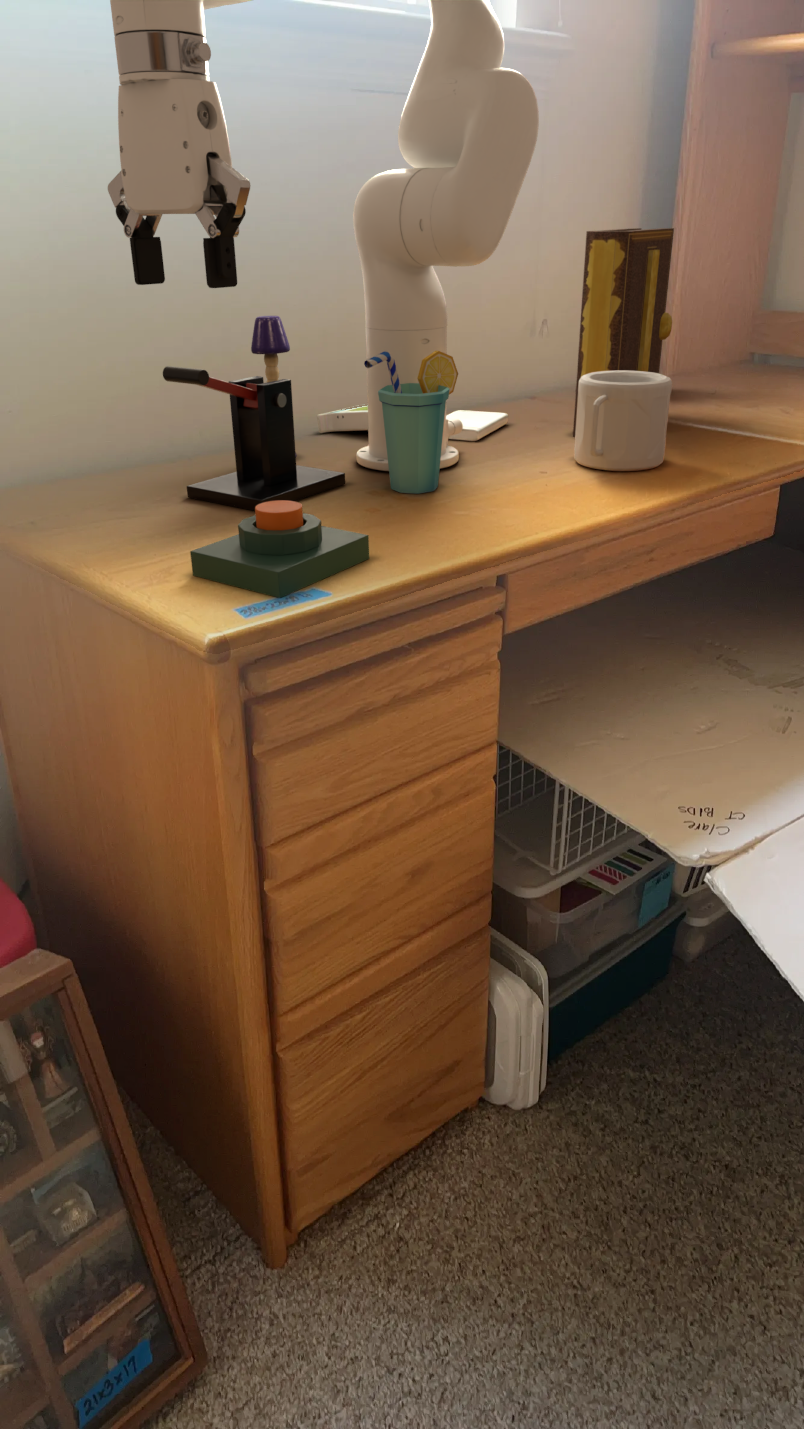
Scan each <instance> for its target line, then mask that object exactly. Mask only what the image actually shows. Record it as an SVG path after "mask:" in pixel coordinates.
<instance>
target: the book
mask: <svg viewBox="0 0 804 1429" xmlns="http://www.w3.org/2000/svg"><path fill="white" fill-rule="evenodd" d="M674 232H675V228H674V227H660V228H647V229H642V228H641V227H638V228H637V227H636V228H633V227H631V228H630V227H629V228H628V227H627V228H613V229H599V230H586V233H585V244H584V245H585V246H584V261H583V274H582V275H583V277H582V291H581V292H582V293H581V304H580V305H581V306H580V320H579V335H578V336H579V337H578V350H577V352H578V353H577V366H576V380H575V381H576V382H575V396H574V409H573V410H574V412H573V426H572V428H573V429H572V436H573V437H575V432H576V417H577V402H578V385H579V380H580V378H581V377H582V376H583V375H586V374H589V373H593V372H599V371H615V370H628V371H645V372H653V373H659V374H660V369H661V368H660V367H661V359H662V358H661V357H662V349H663V348H662V347H663V341H665V340H666V339H667V338H669V337H670V335H671V333H672V328H673V318H672V315H671V314H670V313H669V312H666V311H667V310H666V309H667V300H668V292H669V290H668V289H669V281H670V273H671V272H670V271H671V261H672V252H673V241H674Z"/></svg>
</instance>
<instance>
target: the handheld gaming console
mask: <svg viewBox="0 0 804 1429" xmlns="http://www.w3.org/2000/svg"><path fill="white" fill-rule="evenodd" d="M345 409H346V408H342V410H341V409H336V410H333V411H329V412H324V413H320V414H317V415H316V419H317V420H316V421H317V427H318V428H317V429H318V432H319V434H325V433H330V432H331V433H332V432H353V431H355V432H357V431H368V405H367V406H362V407H357V408H352V409H346V410H345Z"/></svg>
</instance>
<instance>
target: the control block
mask: <svg viewBox="0 0 804 1429" xmlns="http://www.w3.org/2000/svg"><path fill="white" fill-rule="evenodd" d="M237 531H238V534H234V535H232V536H229V537H227V538H224V539H221V540H218V541H215V542H211V543H209V544H206V545H204V546H201V547H198V548H195V549H192V550H190V552H189V553H190V562H191V570H192V576H193V577H197V578H200V579H201V578H202V579H204V580H205V579H206V580H209V581H213V582H216V583H219V584H223V585H229V586H233V587H236V588H240V589H244V590H248V591H251V592H256V593H259V594H263V595H267V596H271V597H275V598H279V599H281V598H283V597H286V596H288V595H291V594H292V593H295V592H297V591H300V590H302V589H304V588H306V587H308V586H311V585H312V584H315V583H317V582H319V581H322V580H324V579H326V578H328V577H331V576H333V575H336V574H337V573H340V572H342V571H345V570H347V569H349V568H351V567H354V566H356V565H359V564H361V563H363V562H365V561H367V560H370V537H369V534H365V533H362V532H361V533H360V532H356V531H351V530H350V531H349V530H345V529H340V528H335V527H330V526H325V525H322V520H321V519H320V518H319V517H317V516H316V515H314V514H310V513H305V512H303V526H301V527H298V528H295V529H288V530H264V529H259V528H257V526H256V514H254V515H252V516H249V517H246V518H242V519H241V521H240V522H239V523H238V524H237Z"/></svg>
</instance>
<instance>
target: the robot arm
mask: <svg viewBox="0 0 804 1429" xmlns="http://www.w3.org/2000/svg"><path fill="white" fill-rule="evenodd" d="M252 1H253V0H109V2H110V11H111V12H110V13H111V19H112V27H113V28H112V29H113V35H114V37H113V38H114V45H115V53H116V54H115V55H116V64H117V70H118V80H119V85H118V94H117V122H118V124H117V125H118V148H119V159H120V171H119V172H118V173H117V175H115V176H114V177H113V179H112V180H110V182H109V183H108V184H107V193H108V194H109V197H110V199H111V201H112V205H113V206H114V208H115V215H116V217H117V219H118V220H119V221H120V223H121V224H122V226H123V234H124V236H126V238H129V246H130V253H131V261H132V269H133V277H134V282H135V284H136V285H137V286H147V285H159V284H160V285H161V284H164V283H165V281H166V276H165V275H166V274H165V266H164V257H163V249H162V240H161V237H160V236H155V234H156V232H157V229H158V227H159V225H160V221H161V219H162V216H163V215H195V216H196V217H197V220H198V221H199V222H200V224H201V225H202V227H203V229H204V230H205V232H206V234H207V235H208V236H209V237H203V238H202V239H203V240H202V241H203V243H202V245H203V246H202V247H203V255H204V256H203V257H204V265H205V266H204V267H205V268H204V269H205V279H206V285H207V287H208V288H209V289H222V288H235V287H237V285H238V273H237V272H238V271H237V262H236V260H237V259H236V248H235V238H238V236H239V235H240V225H241V223H242V222H243V220H244V218H245V216H246V212H247V210H246V207H245V206H247V202H248V198H249V193H250V191H251V182H250V180H249V178H247V177H246V176H244V175H243V174H242V173H240V172H239V171H237V169H236V168H234V167H233V160H232V154H231V146H230V140H229V139H230V138H229V134H228V128H227V122H226V117H225V112H224V108H223V104H222V100H221V96H220V93H219V89H218V86H217V83H216V82H215V81H211V80H210V71H209V70H210V69H209V61H210V60H211V57H212V50H211V46H209V44H208V43H207V33H206V22H205V10H209V9H215V8H219V7H220V8H221V7H224V6H230V5H231V6H232V5H237V4H241V3H247V2H252ZM428 5H429V12H430V22H431V23H430V24H431V25H430V31H429V36H428V39H427V42H426V46H425V49H424V52H423V54H422V57H421V60H420V63H419V65H418V68H417V71H416V73H415V76H414V78H413V82H412V83H411V87H410V90H409V92H408V95H407V98H406V101H405V103H404V106H403V110H402V112H401V116H400V119H399V120H400V121H399V124H398V130H397V144H398V149H399V152H400V154H401V157H402V158H403V159H404V161H405V162H406V163H407V164H408V165H409V166H411V167H409V168H397V169H396V168H395V169H391V170H390V169H389V170H386V171H383V172H379V173H377V174H375V175H374V176H372V177H370V178H369V179H368V180H367V181H366V182H365V183H364V184H363V185H362V186H361V187H360V189H359V191H358V193H357V195H356V198H355V200H354V204H353V210H352V224H353V233H354V239H355V243H356V247H357V252H358V256H359V263H360V267H361V273H362V274H361V275H362V282H363V295H364V315H365V316H364V317H365V321H364V322H365V358H366V359H365V361H366V360H368V359H370V358H372V357H374V356H376V355H378V354H380V353H382V352H384V351H387V352H389V353H390V354H391V355H392V357H393V358H394V360H395V365H396V369H397V373H398V377H399V382H400V384H405V383H419V382H418V379H417V378H418V374H419V370H420V367H421V363H422V360H423V359H424V358H426V357H427V356H429V355H430V354H431V353H433V352H434V351H440V352H443V353H445V354H447V352H448V350H447V348H448V347H447V346H448V338H447V337H448V306H447V301H446V296H445V292H444V289H443V286H442V284H441V282H440V280H439V277H438V274H437V273H436V270H435V268H434V267H474V266H477V265H481V264H482V263H484V262H485V261H487V260H488V259H489V258H490V257H491V256H492V255H493V254H494V253H495V251H496V250H497V248H498V246H499V245H500V244H501V240H502V239H503V237H504V234H505V232H506V229H507V227H508V224H509V221H510V218H511V216H512V213H513V211H514V208H515V205H516V203H517V200H518V197H519V195H520V192H521V190H522V189H521V188H522V187H523V184H524V181H525V178H526V176H527V173H528V170H529V167H530V166H531V162H532V159H533V156H534V153H535V150H536V146H537V141H538V135H539V125H540V123H539V122H540V121H539V120H540V113H539V104H538V99H537V96H536V92H535V89H534V87H533V85H532V84H531V82H530V81H529V80H528V78H527V77H525V75H524V74H522V73H521V72H519V71H517V70H515V69H512V68H508V67H501V66H502V63H503V59H504V55H505V36H504V32H503V29H502V26H501V23H500V20H499V18H498V17H497V14H496V13H495V11H494V9H493V8H494V7H493V6H492V5H491V1H490V0H428ZM447 355H448V354H447ZM387 385H392V382H391V378H390V374H389V369H388V365H387V362H386V360H385V361H383V362H381V363H378V364H376V365H374V366H372V367H370V368H366V395H367V399H366V400H367V404H368V430H367V432H368V434H367V435H368V445H367V446H366V445H365V446H364V447H361V448H359V449H358V450H357V452H356V462H357V463H358V465H360V466H362V467H365V468H367V469H371V470H375V471H376V470H377V471H382V472H389V466H388V456H387V447H386V437H385V428H384V418H383V409H382V402H380V401H379V395H378V391H379V390H380V389H382V388H383V387H385V386H387ZM446 415H447V403H446V404H445V415H444V426H443V437H442V448H441V459H440V469H445V468H448V467H451V466H453V465H455V464H457V462H459V460H460V459H459V449H457V448H456V447H454V446H452V445H449V439H448V438H449V437H450V436H452V435H455V434H458V433H460V432H461V431H462V429H463V424H462V422H461V421H460V420H459V419H456V418H455V419H452V420H449V421H448V419H446ZM440 469H439V470H440Z"/></svg>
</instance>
